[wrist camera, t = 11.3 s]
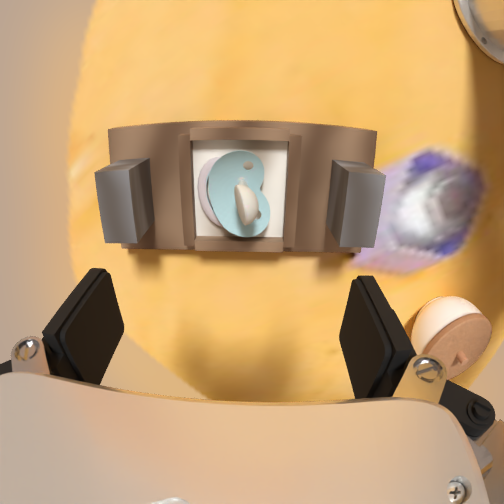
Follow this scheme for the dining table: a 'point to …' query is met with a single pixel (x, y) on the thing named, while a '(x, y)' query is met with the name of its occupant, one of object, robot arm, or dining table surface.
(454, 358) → the lidded jar
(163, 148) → the brown tray
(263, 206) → the pacifier
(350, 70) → the dining table surface
